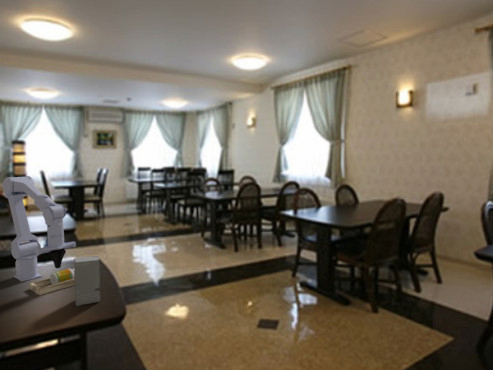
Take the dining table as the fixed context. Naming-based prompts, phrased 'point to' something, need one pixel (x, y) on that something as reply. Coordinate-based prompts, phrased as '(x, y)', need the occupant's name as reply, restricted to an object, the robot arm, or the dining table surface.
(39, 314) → the dining table surface
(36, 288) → the tray
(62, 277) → the supplement bottle
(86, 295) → the skincare box
